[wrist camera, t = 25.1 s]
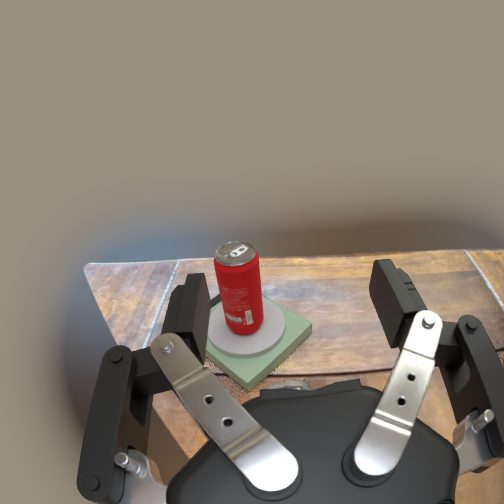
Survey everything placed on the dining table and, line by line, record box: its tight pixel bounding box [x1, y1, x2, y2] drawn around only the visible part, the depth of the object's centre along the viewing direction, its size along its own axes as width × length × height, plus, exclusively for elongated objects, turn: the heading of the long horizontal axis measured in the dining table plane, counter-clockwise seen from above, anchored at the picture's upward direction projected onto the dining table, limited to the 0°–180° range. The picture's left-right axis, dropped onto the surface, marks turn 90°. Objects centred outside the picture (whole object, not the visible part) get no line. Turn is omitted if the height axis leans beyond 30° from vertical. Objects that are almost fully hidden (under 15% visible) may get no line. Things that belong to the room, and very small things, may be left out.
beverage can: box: [214, 241, 264, 335], centre depth 38 cm, size 5×5×12 cm
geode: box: [266, 379, 314, 391], centre depth 34 cm, size 7×8×2 cm
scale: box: [205, 294, 312, 392], centre depth 43 cm, size 13×15×3 cm
